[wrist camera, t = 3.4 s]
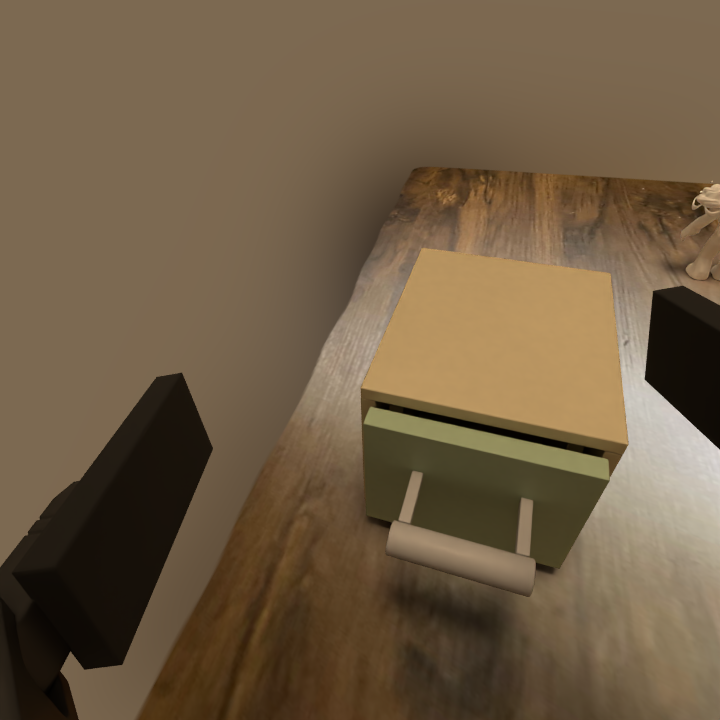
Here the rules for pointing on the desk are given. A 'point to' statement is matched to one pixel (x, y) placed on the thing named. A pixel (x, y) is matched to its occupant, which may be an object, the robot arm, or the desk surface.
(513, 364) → the cabinet
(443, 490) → the drawer
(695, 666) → the desk surface
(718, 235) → the hat wearing toy figure
